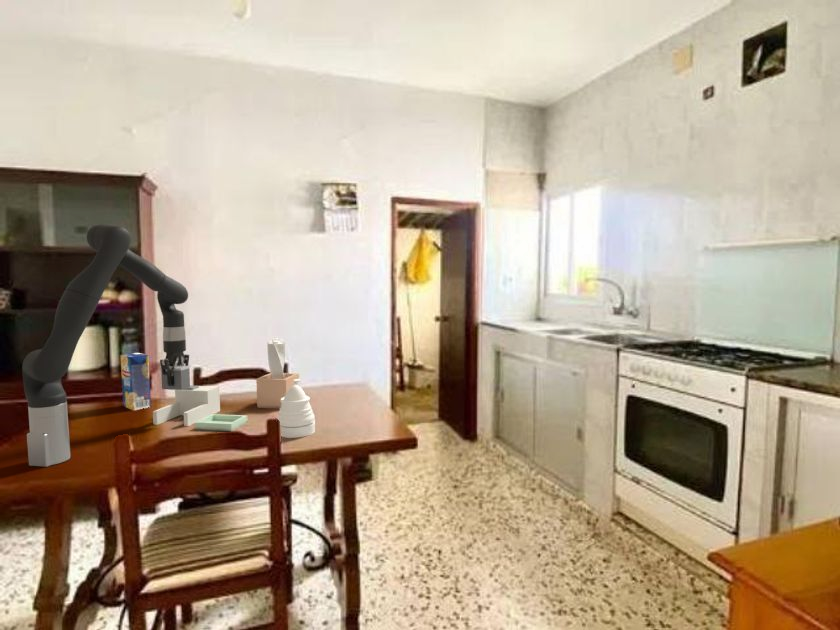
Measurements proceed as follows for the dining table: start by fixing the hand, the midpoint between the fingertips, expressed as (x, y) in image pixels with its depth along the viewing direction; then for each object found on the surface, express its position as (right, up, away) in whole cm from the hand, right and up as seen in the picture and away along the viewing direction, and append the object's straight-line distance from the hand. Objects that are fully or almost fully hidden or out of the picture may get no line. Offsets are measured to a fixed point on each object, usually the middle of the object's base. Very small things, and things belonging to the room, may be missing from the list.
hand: (176, 384), depth 189 cm
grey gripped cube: (0, -1, 0) cm, 1 cm away
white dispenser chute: (+1, -14, +7) cm, 16 cm away
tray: (+19, -15, -4) cm, 24 cm away
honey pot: (+48, -15, -12) cm, 52 cm away
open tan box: (+31, -12, +26) cm, 42 cm away
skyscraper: (+31, -12, +26) cm, 42 cm away
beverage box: (-28, -13, +24) cm, 39 cm away
